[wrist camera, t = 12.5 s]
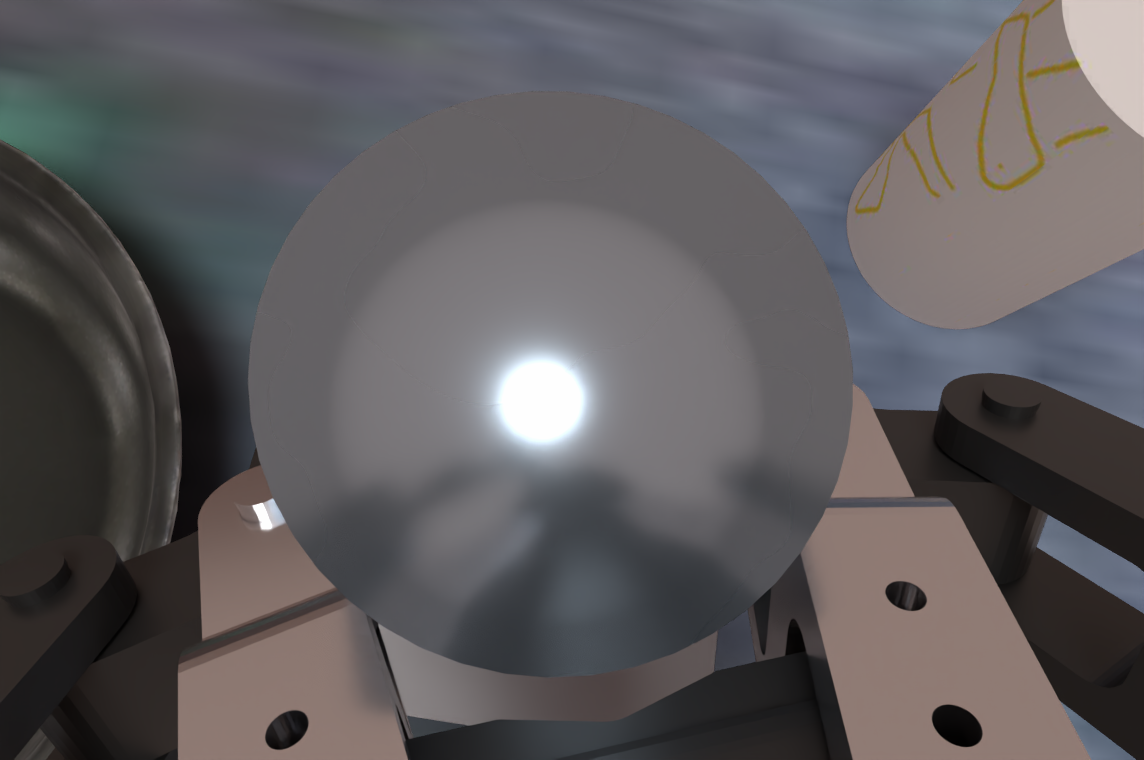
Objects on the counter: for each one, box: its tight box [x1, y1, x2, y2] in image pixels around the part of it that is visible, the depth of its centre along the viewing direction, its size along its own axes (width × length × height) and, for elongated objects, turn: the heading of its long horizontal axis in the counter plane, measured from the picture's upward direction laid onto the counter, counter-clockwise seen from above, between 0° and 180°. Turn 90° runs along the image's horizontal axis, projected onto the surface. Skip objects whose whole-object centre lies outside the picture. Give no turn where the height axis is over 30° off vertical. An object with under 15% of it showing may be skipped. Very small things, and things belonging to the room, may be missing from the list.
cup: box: [847, 0, 1144, 329], centre depth 24 cm, size 8×8×12 cm
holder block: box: [378, 623, 718, 725], centre depth 23 cm, size 12×12×5 cm
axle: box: [248, 91, 853, 678], centre depth 11 cm, size 4×4×12 cm
